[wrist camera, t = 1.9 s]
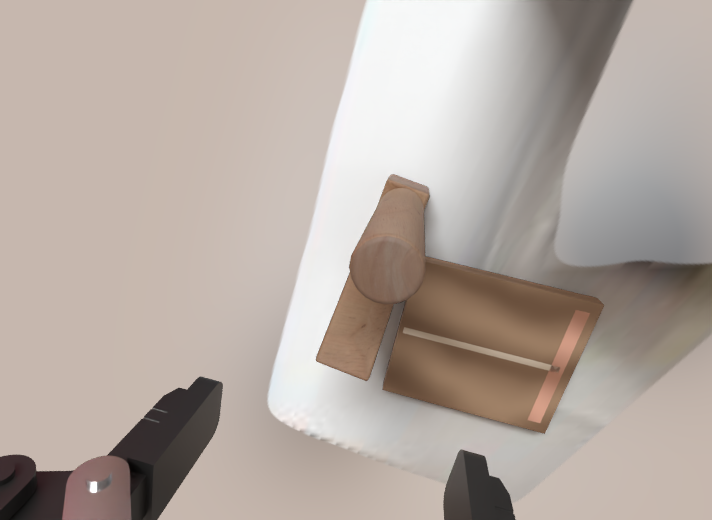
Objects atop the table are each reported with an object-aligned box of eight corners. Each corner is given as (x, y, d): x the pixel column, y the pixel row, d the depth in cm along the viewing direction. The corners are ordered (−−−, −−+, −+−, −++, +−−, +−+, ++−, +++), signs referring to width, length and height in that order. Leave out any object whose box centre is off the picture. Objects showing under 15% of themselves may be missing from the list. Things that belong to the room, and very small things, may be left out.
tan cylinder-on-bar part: (350, 280, 39) (296, 401, 22) (390, 172, 35) (362, 218, 18) (387, 294, 39) (360, 427, 22) (430, 187, 35) (439, 247, 18)
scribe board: (418, 254, 37) (418, 260, 35) (597, 298, 36) (604, 305, 34) (383, 380, 42) (382, 389, 40) (540, 422, 40) (544, 433, 39)
